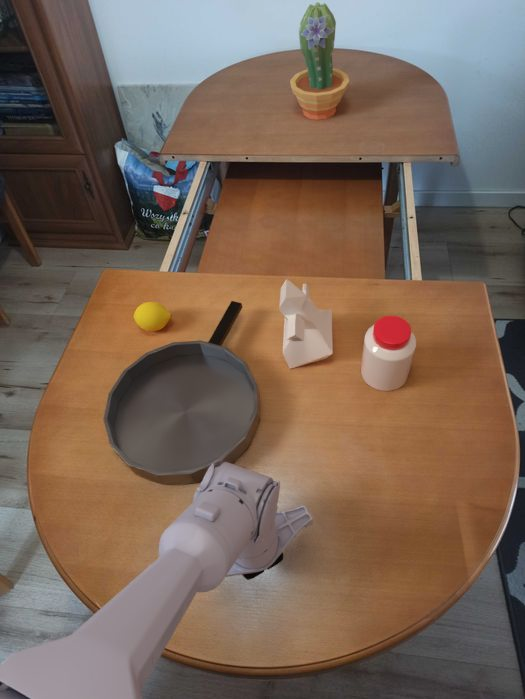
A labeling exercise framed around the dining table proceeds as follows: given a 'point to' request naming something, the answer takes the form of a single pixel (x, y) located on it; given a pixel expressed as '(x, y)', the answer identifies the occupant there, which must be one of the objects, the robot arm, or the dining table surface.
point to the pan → (184, 408)
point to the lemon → (151, 316)
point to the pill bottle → (387, 353)
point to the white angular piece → (304, 327)
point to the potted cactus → (318, 65)
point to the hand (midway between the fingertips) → (260, 563)
